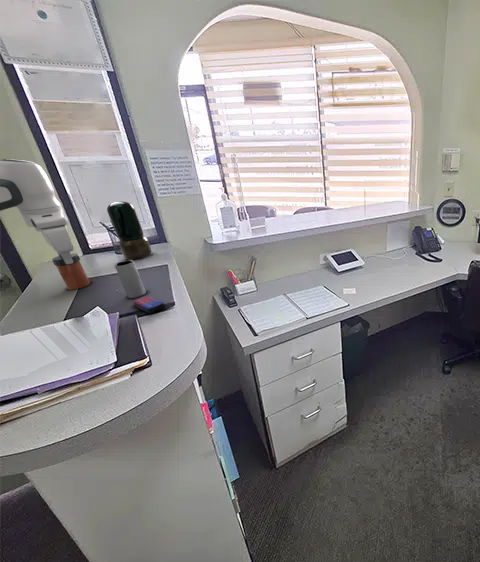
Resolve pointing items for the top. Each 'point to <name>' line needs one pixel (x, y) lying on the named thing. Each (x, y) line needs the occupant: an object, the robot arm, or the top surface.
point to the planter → (130, 278)
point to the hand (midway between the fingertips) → (67, 261)
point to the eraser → (148, 304)
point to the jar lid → (59, 260)
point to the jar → (73, 275)
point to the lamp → (128, 230)
